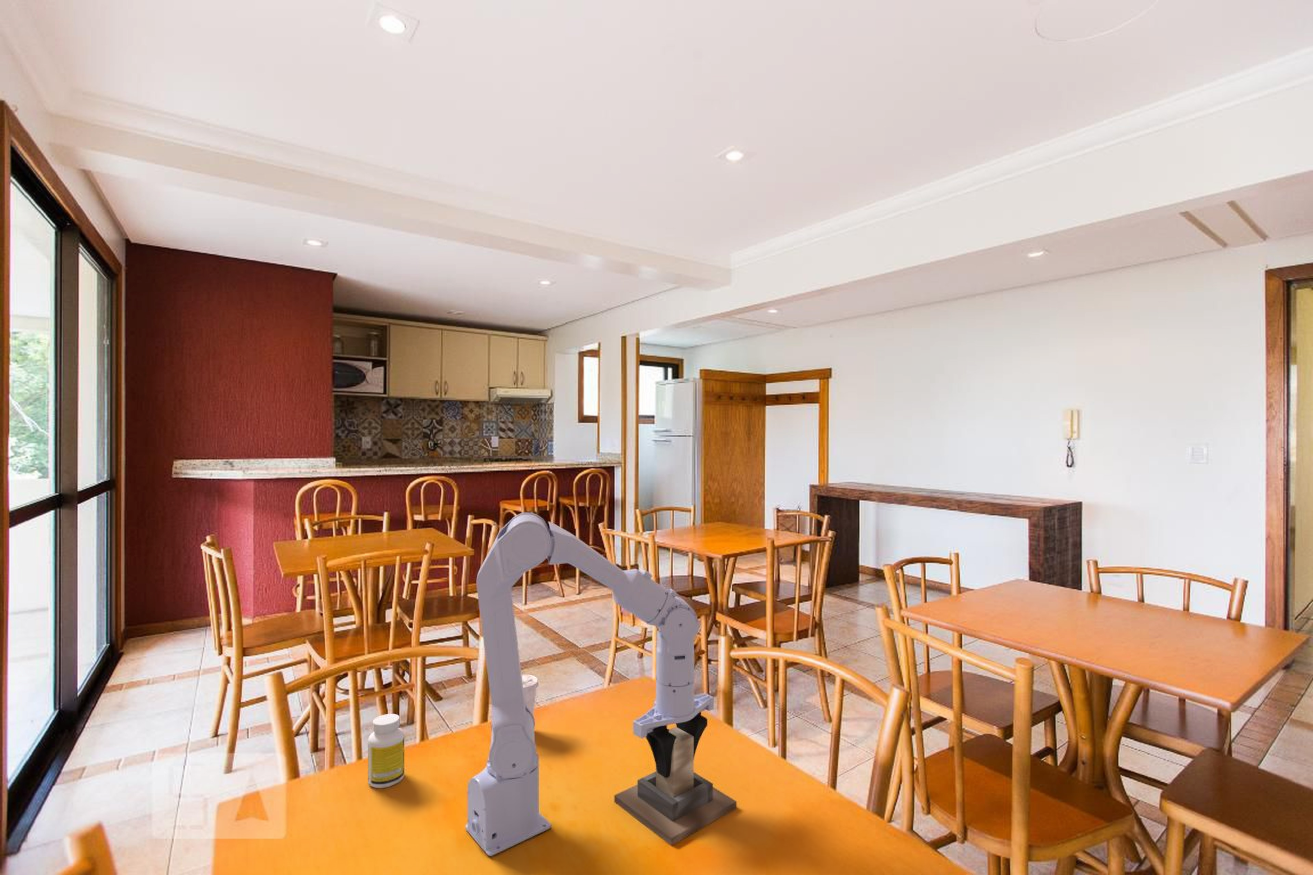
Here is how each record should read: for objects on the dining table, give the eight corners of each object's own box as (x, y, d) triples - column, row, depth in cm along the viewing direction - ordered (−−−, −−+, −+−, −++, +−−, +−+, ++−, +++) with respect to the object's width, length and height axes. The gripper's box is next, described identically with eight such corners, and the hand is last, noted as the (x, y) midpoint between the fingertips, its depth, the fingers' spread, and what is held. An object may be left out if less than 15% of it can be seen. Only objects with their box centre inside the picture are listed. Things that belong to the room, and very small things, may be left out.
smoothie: (500, 728, 118) (500, 654, 117) (533, 721, 120) (533, 649, 120) (507, 744, 112) (507, 666, 112) (542, 736, 114) (542, 660, 114)
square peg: (673, 799, 91) (673, 744, 91) (655, 787, 94) (655, 734, 94) (693, 789, 94) (693, 736, 93) (675, 777, 97) (675, 726, 96)
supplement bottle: (410, 779, 101) (410, 718, 100) (376, 793, 97) (376, 730, 97) (395, 766, 104) (395, 708, 104) (362, 779, 100) (361, 719, 100)
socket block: (671, 845, 85) (671, 819, 85) (614, 801, 95) (614, 778, 94) (736, 807, 93) (736, 784, 93) (677, 771, 103) (677, 750, 103)
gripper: (691, 659, 101) (691, 742, 101) (620, 683, 92) (620, 774, 92) (723, 672, 96) (723, 760, 96) (650, 699, 86) (650, 796, 87)
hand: (675, 768), depth 94 cm, fingers closed on square peg, 4 cm apart
